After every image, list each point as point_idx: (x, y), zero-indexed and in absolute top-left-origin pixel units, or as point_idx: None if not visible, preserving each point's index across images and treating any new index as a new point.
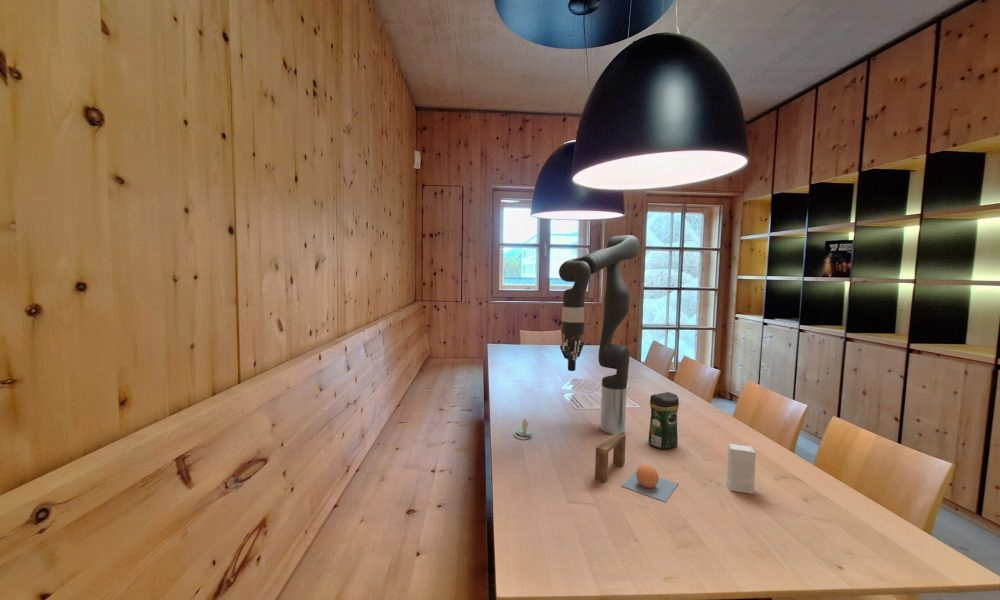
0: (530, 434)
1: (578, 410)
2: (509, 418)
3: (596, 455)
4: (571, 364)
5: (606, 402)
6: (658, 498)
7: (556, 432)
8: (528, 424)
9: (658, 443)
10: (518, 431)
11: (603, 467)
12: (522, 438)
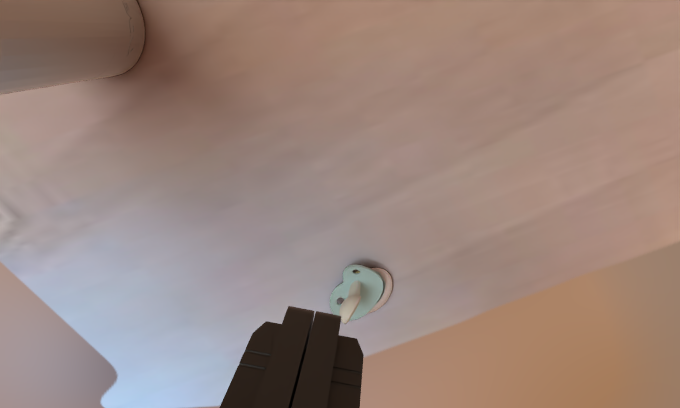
0: (368, 268)
1: (22, 206)
2: None
3: None
4: (358, 403)
5: (37, 45)
6: None
7: (267, 207)
8: (349, 298)
9: None
10: (358, 307)
11: None
12: (390, 280)
